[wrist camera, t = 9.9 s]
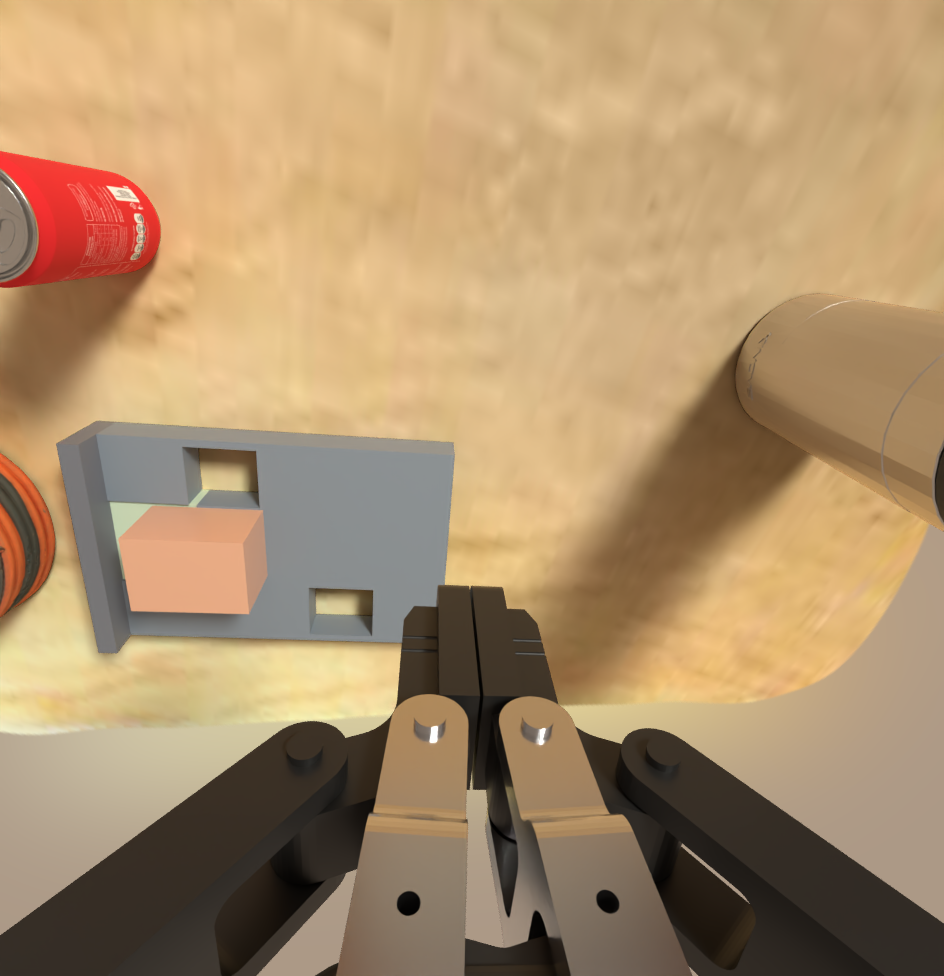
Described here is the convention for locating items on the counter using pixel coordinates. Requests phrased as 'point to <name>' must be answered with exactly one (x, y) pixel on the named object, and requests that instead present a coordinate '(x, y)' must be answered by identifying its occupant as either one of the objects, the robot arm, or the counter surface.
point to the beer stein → (22, 537)
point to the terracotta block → (195, 560)
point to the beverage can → (70, 222)
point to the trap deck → (269, 525)
